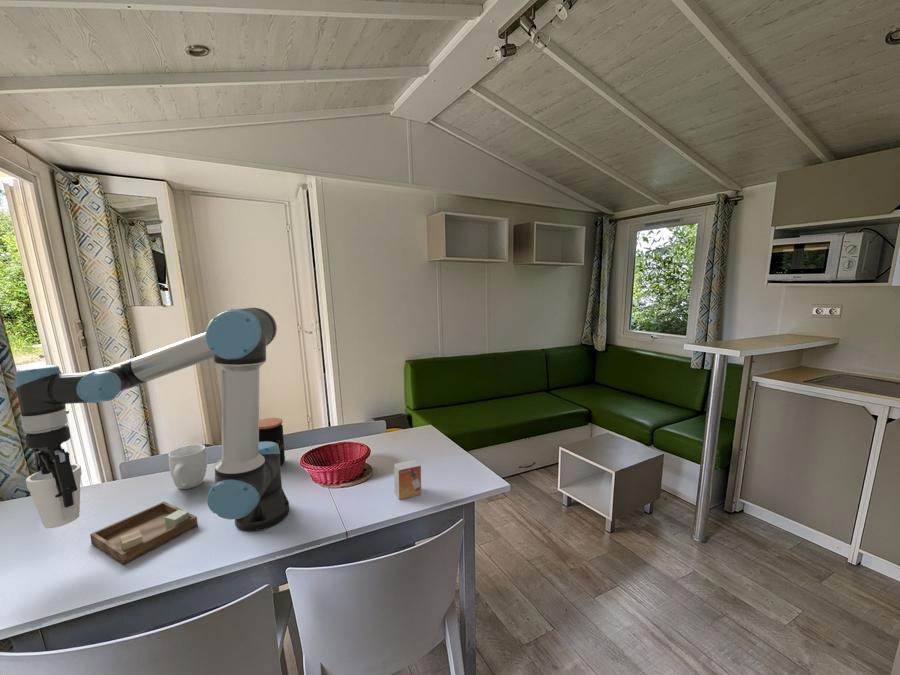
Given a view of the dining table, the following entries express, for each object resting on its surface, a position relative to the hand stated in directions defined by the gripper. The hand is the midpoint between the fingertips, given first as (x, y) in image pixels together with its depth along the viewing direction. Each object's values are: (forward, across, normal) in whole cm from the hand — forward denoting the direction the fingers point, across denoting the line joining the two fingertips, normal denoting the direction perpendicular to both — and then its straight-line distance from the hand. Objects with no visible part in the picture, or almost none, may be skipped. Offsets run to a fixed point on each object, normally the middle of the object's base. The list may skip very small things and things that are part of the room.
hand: (61, 512), depth 95 cm
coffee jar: (+14, 0, -60) cm, 61 cm away
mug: (+14, +12, -36) cm, 40 cm away
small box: (+15, -60, -67) cm, 91 cm away
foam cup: (+2, 0, 0) cm, 2 cm away
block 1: (+13, -11, -9) cm, 19 cm away
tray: (+14, -6, -15) cm, 21 cm away
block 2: (+13, -11, -20) cm, 26 cm away
